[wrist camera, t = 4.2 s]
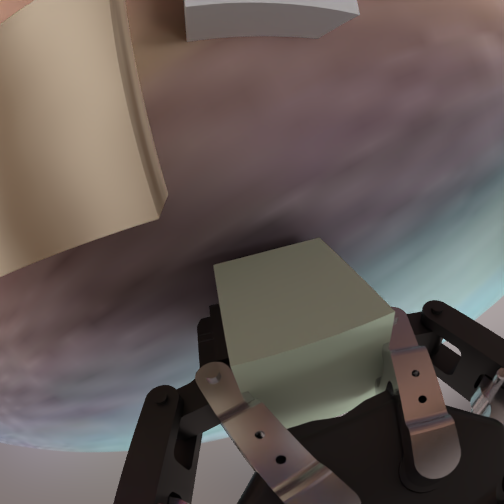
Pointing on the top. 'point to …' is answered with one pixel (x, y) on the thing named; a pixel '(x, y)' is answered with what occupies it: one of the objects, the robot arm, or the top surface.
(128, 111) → the maple block
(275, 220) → the top surface
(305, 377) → the sage block
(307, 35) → the grey block
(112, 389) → the top surface
